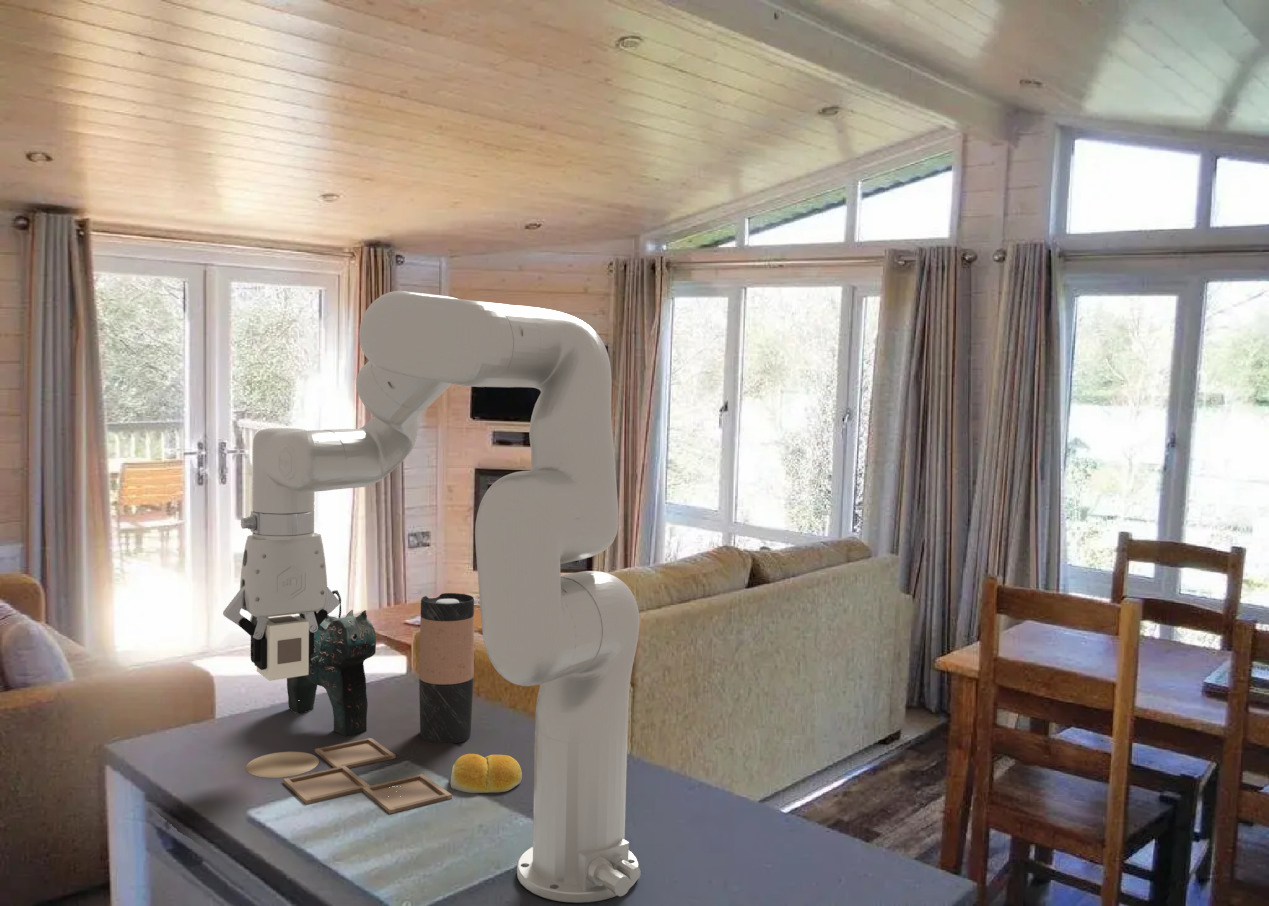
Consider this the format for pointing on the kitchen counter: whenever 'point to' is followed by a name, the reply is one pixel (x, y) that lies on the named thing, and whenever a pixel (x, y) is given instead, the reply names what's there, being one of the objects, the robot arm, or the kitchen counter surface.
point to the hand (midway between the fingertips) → (282, 662)
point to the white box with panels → (286, 647)
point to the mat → (282, 764)
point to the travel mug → (446, 667)
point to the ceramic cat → (338, 671)
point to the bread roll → (485, 773)
